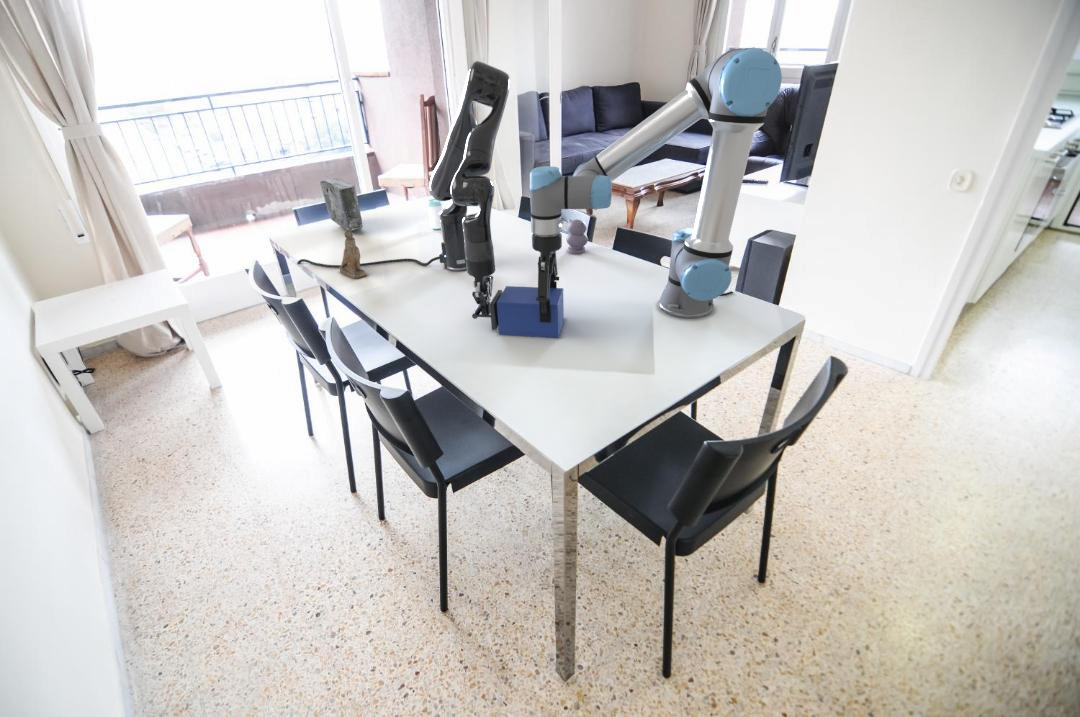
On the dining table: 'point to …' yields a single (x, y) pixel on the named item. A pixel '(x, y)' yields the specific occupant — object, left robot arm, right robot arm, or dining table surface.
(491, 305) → the drawer
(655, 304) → the dining table surface
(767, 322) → the dining table surface
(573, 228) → the cat figurine
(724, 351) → the dining table surface
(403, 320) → the dining table surface
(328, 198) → the concrete block
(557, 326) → the cabinet
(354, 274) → the worn brown figurine
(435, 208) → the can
